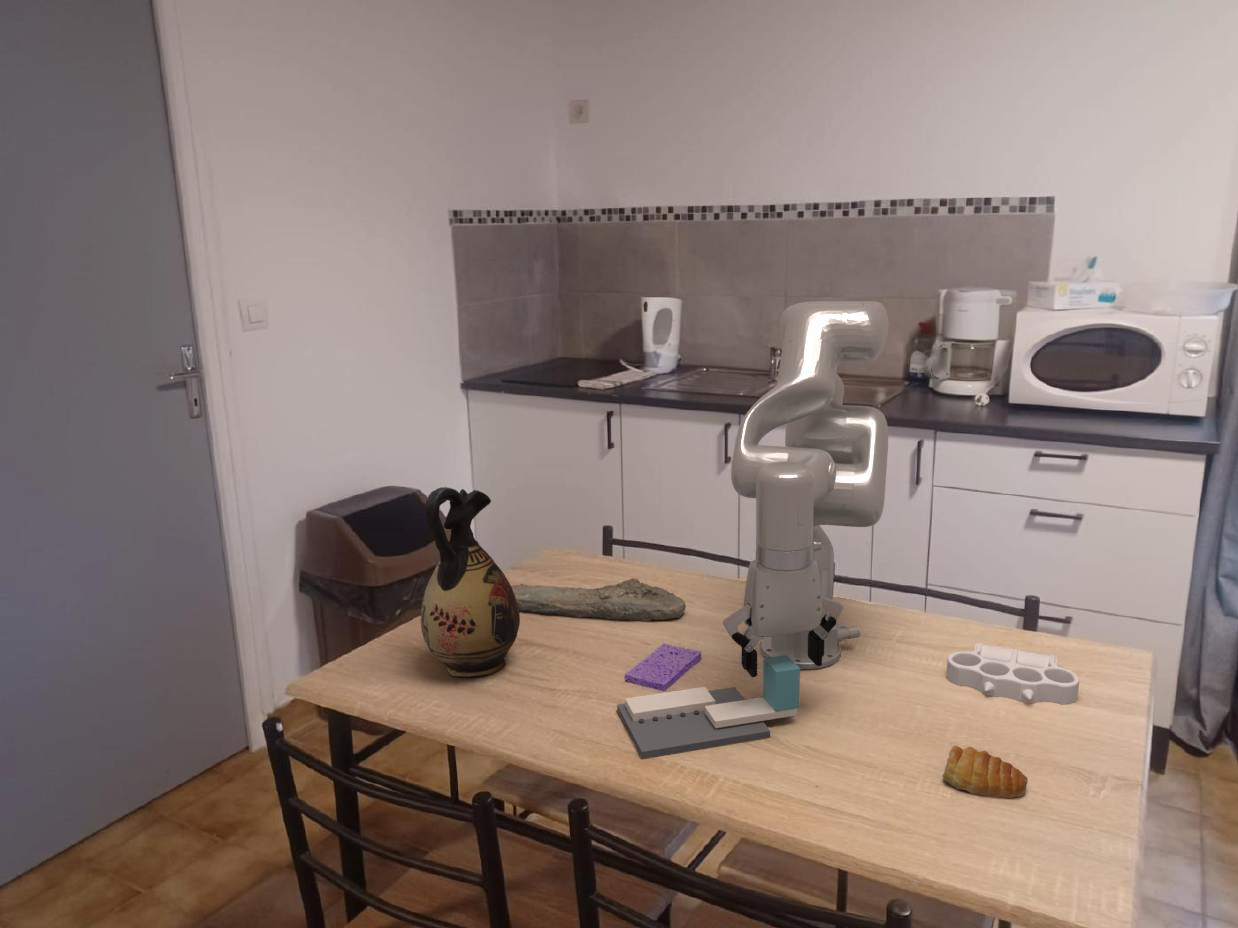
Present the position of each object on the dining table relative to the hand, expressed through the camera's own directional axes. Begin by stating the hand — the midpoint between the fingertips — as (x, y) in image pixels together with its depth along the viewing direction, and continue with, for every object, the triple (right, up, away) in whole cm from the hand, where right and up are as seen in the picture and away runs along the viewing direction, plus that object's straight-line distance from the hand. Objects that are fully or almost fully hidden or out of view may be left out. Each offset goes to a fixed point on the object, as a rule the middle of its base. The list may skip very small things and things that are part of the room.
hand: (782, 666), depth 131 cm
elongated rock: (-28, +1, +40) cm, 49 cm away
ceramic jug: (-47, -4, +18) cm, 50 cm away
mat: (-13, -8, -1) cm, 15 cm away
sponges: (-16, -5, +16) cm, 23 cm away
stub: (-4, -6, -1) cm, 8 cm away
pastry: (+22, -11, -15) cm, 29 cm away
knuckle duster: (+36, -5, +9) cm, 37 cm away
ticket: (-16, -6, +2) cm, 17 cm away
